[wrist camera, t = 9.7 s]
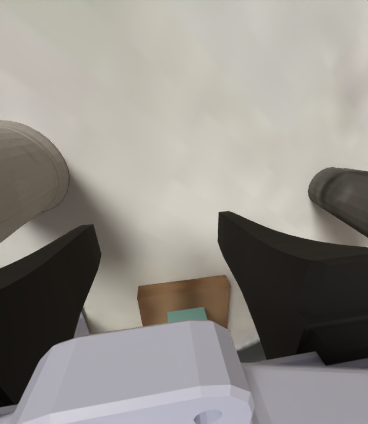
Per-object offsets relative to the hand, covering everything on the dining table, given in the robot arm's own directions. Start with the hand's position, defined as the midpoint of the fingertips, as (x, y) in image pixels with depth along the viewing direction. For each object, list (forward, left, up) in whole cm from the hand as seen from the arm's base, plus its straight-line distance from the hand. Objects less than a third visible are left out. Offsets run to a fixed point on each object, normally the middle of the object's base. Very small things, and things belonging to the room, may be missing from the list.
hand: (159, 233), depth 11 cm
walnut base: (+2, -20, -10) cm, 23 cm away
